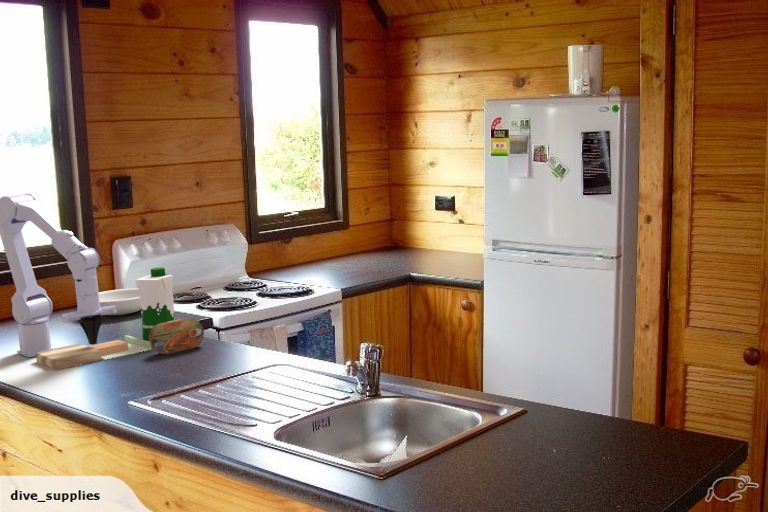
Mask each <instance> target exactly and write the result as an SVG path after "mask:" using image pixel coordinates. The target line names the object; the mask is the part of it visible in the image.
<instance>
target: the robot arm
mask: <svg viewBox="0 0 768 512" xmlns="http://www.w3.org/2000/svg"><path fill="white" fill-rule="evenodd" d="M28 222H31V223H32V224H34V225H35V226H36V227H37V228H38V229H39V230H41V231H42V232H43V233H44V234H46V236H47V237H49V238H50V239H51V246H52V247H53V248H54V249H55V250H56V251H57V252H58V253H59V254H60V255H61V256H62V257H64V259H66V260H67V261H66V262H67V267H68V268H69V270H70V271H71V273H72V274H71V275H72V278H73V279H74V285H75V295H76V303H77V304H76V305H77V310H76V311H72V312H68V313H64V314H61V322H62V323H64V324H66V323H69V322H73V321H77V322H78V323H79V325H80V327H81V328H82V330H83V331H84V334H85V335H86V339H87V341H88V344H89V345H90V346H91V345H95V344H98V336H99V333H100V329H101V326H102V323H103V322H104V320H103V319H104V317H103V316H107V315H106V314H111V313H113V314H114V313H117V308H116V306H114V305H113V306H106V307H100V301H99V286H98V284H99V283H98V276H97V275H98V274H97V268H98V267H99V265H100V262H101V261H100V260H101V259H100V255H99V253H98V252H97V251H96V249H95V248H93V247H88V246H86V245H85V244H83V243H82V242H81V241H80V240H79V239H78V238H77V237H76V236H74V233H73V232H72V231H71V230H70V231H69V230H67V229H63V230H62V229H61V227H59V226H58V224H57V223H56V222H55V221H54V220H53V219H52V217H51V216H50V215H49V214H48V213H47V212H46V211H45V210H44V208H42V203H41V201H40V200H38V199H37V198H36V196H35V195H33V194H32V193H24V194H18V195H16V194H15V195H10V196H9V195H6V196H1V197H0V239H1V242H2V246H3V248H4V252H5V255H6V259H7V263H8V266H9V270H10V273H11V275H12V279H13V283H14V286H15V290H16V291H15V293H14V295H12V297H11V299H10V300H11V304H12V307H11V308H12V309H11V312H12V316H13V318H14V320H15V321H16V322H17V323H18V329H17V334H18V343H19V350H17V351H16V353H17V354H18V355H21V356H24V357H27V358H32V357H33V358H34V357H36V352H41V351H46V350H51V349H54V348H52V343H51V336H50V326H49V319H50V316H51V314H52V313H53V307H54V305H53V302H52V300H51V298H49V296H48V294H47V290H46V289H45V288H43V287H41V286H40V285H38V283H37V279H36V276H35V271H34V270H33V266H32V263H31V260H30V256H29V253H28V249H27V245H26V242H25V238H24V236H23V233H22V229H23V228H24V226H25V224H27V223H28Z"/></svg>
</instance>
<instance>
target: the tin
mask: <svg viewBox="0 0 768 512" xmlns="http://www.w3.org/2000/svg"><path fill="white" fill-rule="evenodd" d="M204 331H205V330H204V327H203V325H202V323H201V322H200V321H199V319H196V318H193V317H185V318H180V319H175V321H170V322H165V323H160V324H157V325H156V326H154V327H153V328H152V330H151V331H150V334H149V341H148V342H149V343H150V346H151V347H152V349H153V350H152V351H154V352H157V353H158V354H161V355H169V354H175V353H178V352H183V351H187V350H193V349H195V348H196V347H198V346H199V345H200V344H201V343H202V341H203V339H204V336H205V335H204V333H205V332H204Z"/></svg>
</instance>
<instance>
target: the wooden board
mask: <svg viewBox="0 0 768 512" xmlns="http://www.w3.org/2000/svg"><path fill="white" fill-rule="evenodd" d="M88 346H89V345H85V344H81V343H76V344H71V345H66V346H61V347H56V348H53V349H51V350H46V351H41V352H36V356H35V359H36V362H37V363H38V364H42V365H44V366H46V367H49V368H51V369H52V370H53V369H54V370H55V371H58V370H64V369H68V368H72V367H71V366H73V367H76V366H75V365H77V366H81V365H80V364H82V365H86V364H90V362H91V363H94V362H99V360H100V361H102V360H103V359H101V351H100V350H97V349H94V348H91V347H88ZM85 363H86V364H85ZM63 368H64V369H63Z"/></svg>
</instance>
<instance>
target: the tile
mask: <svg viewBox="0 0 768 512" xmlns="http://www.w3.org/2000/svg"><path fill="white" fill-rule="evenodd" d="M124 341H125V340H121V339H115V340H110V341H106V342H100V343H97V344H94V345H91V344H90V345H87V346H88V347H91V348H94V349H97V350H100V351H101V356H102V355H107V354H112V353H116V352H121V351H125V350H129V349H128V343H127V342H124Z"/></svg>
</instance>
